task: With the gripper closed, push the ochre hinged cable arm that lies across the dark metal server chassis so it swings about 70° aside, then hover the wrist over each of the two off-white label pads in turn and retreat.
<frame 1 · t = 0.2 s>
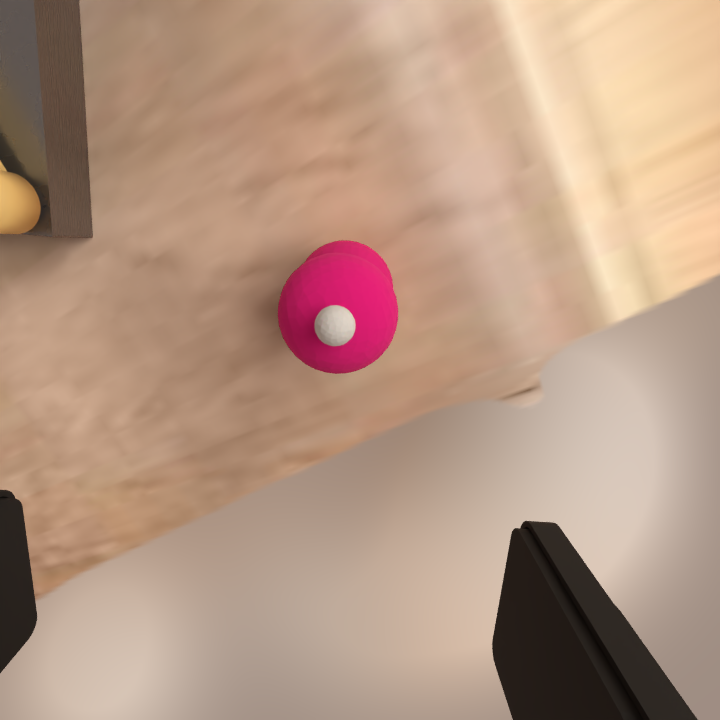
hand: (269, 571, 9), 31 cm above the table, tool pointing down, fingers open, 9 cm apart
pepper mill: (346, 284, 38), on the table
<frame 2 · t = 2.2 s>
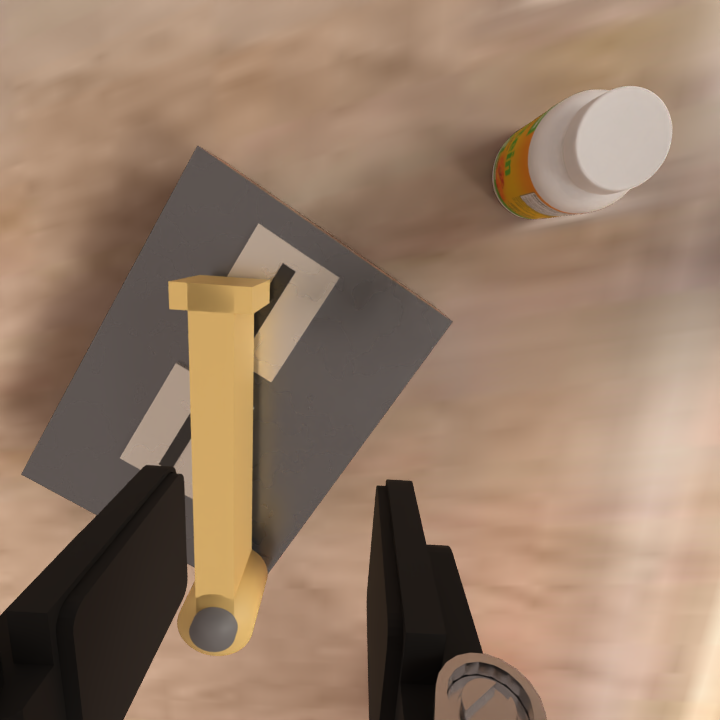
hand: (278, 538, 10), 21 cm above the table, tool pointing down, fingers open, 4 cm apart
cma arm: (225, 470, 24), point 8 cm above the table, hinge at 0.0°
supplement bottle: (532, 174, 28), on the table
chassis: (248, 376, 31), on the table
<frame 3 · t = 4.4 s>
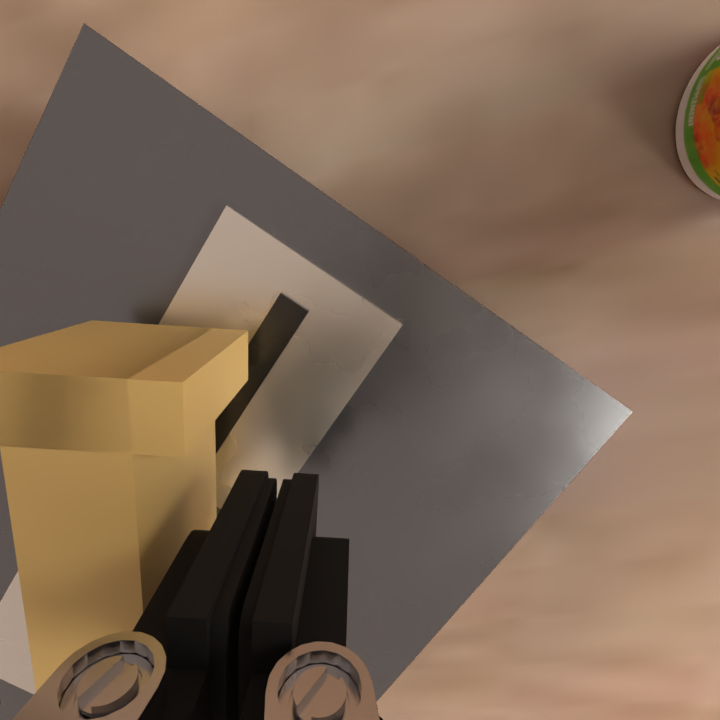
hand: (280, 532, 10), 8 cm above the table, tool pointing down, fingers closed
chassis: (222, 474, 18), on the table
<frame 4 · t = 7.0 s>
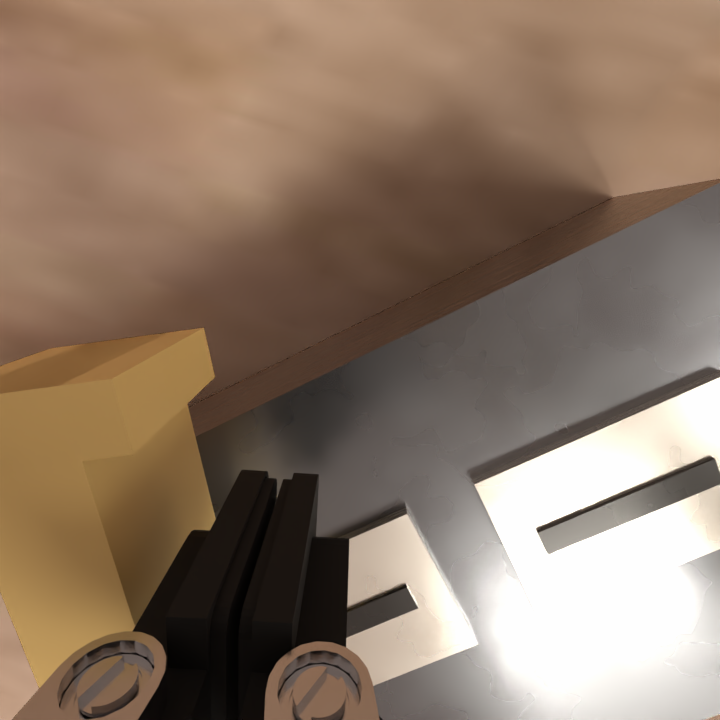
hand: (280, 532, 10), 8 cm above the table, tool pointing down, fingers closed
chassis: (418, 510, 18), on the table
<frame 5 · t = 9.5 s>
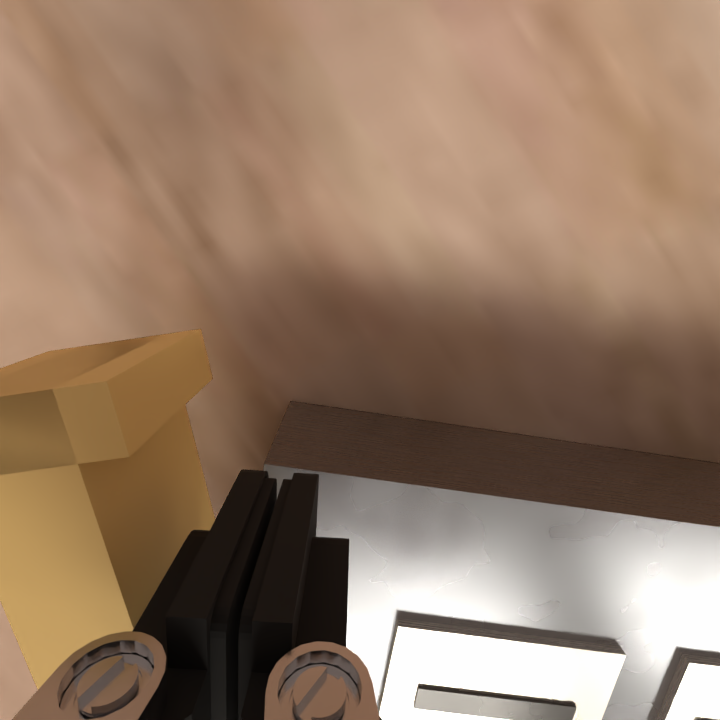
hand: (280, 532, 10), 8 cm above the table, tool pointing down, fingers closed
chassis: (520, 609, 20), on the table
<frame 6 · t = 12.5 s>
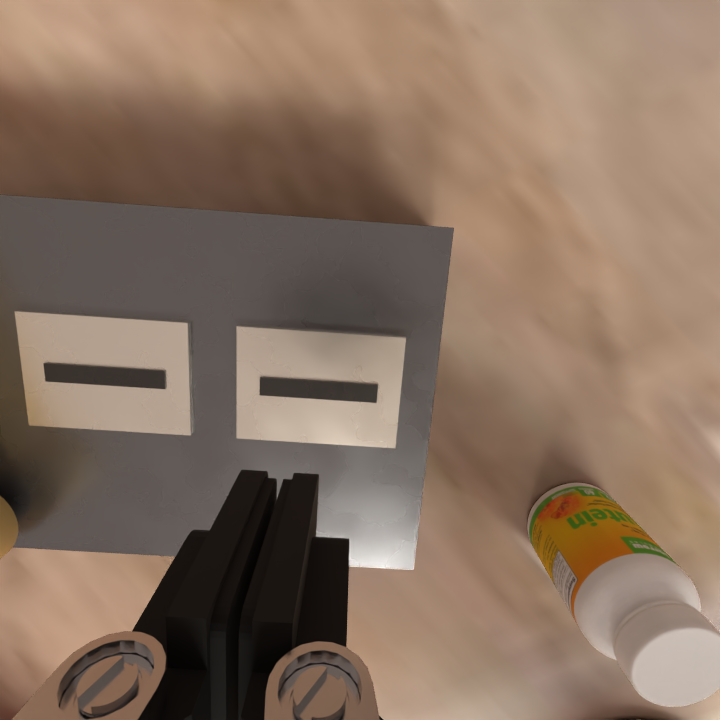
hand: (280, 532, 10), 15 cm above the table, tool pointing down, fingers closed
supplement bottle: (568, 518, 27), on the table
chassis: (215, 368, 24), on the table
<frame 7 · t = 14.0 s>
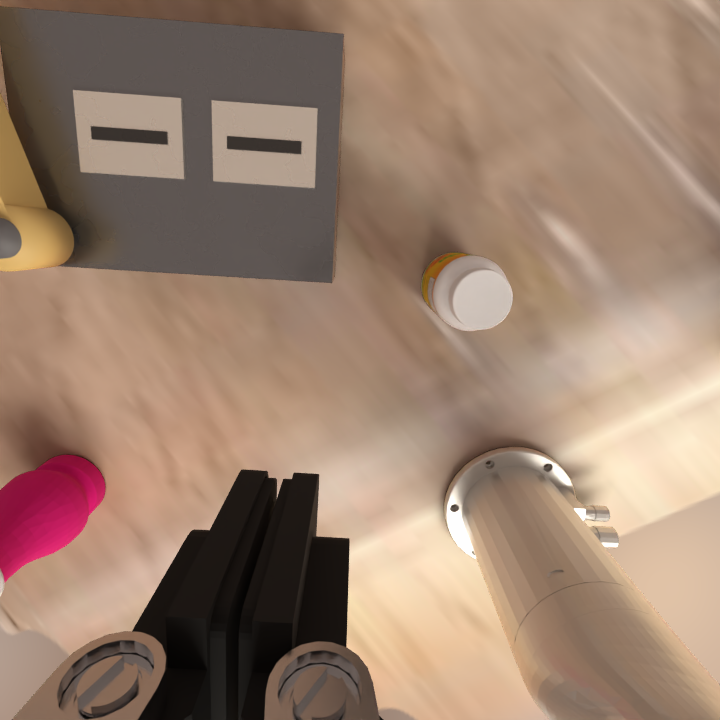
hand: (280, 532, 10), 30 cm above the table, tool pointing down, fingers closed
supplement bottle: (450, 283, 39), on the table
chassis: (200, 166, 36), on the table
pepper mill: (74, 482, 43), on the table
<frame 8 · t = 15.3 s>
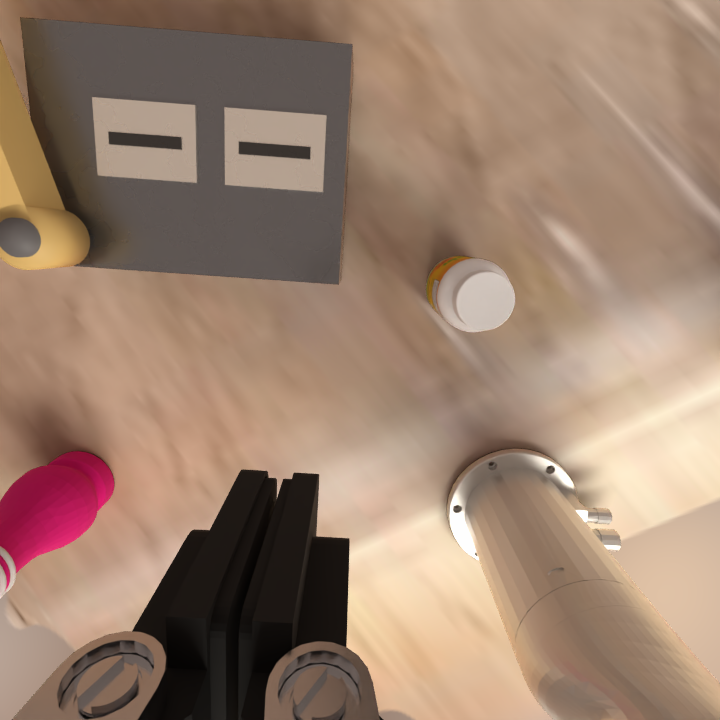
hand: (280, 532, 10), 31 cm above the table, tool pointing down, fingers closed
supplement bottle: (455, 286, 40), on the table
chassis: (212, 171, 37), on the table
pepper mill: (83, 478, 44), on the table
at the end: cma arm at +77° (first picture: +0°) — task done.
